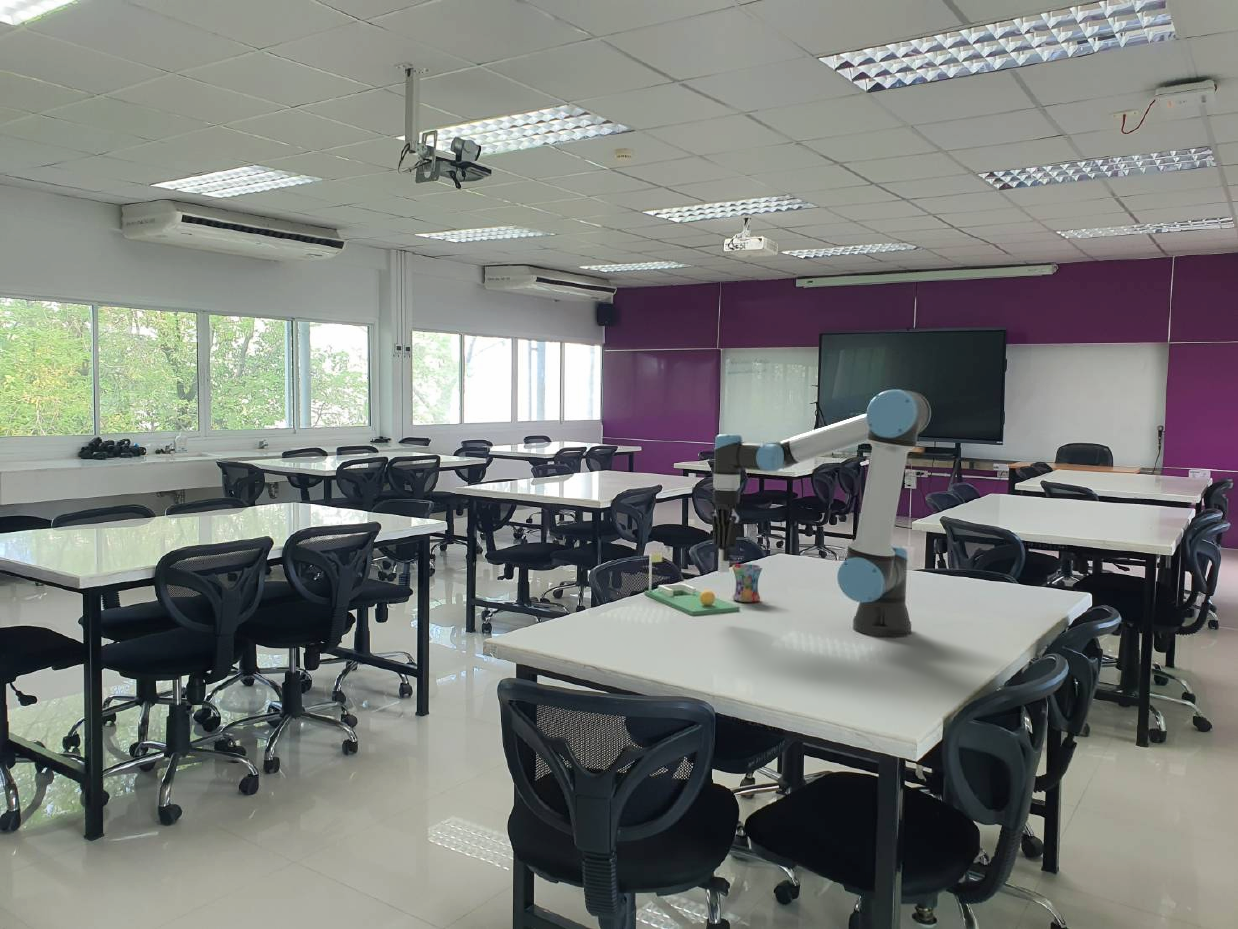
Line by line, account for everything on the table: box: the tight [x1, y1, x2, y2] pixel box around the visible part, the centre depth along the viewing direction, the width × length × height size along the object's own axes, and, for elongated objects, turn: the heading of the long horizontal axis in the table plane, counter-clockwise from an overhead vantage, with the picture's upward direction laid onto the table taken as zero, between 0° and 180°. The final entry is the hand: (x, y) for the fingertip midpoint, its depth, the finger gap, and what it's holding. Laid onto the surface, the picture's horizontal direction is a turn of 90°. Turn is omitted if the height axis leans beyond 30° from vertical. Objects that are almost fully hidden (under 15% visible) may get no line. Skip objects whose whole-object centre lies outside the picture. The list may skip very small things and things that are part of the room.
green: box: [644, 552, 741, 616], centre depth 263 cm, size 30×16×13 cm, turn 25°
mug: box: [731, 563, 763, 603], centre depth 269 cm, size 12×9×11 cm
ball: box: [700, 589, 716, 606], centre depth 254 cm, size 4×4×4 cm
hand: (723, 571), depth 246 cm, fingers closed
